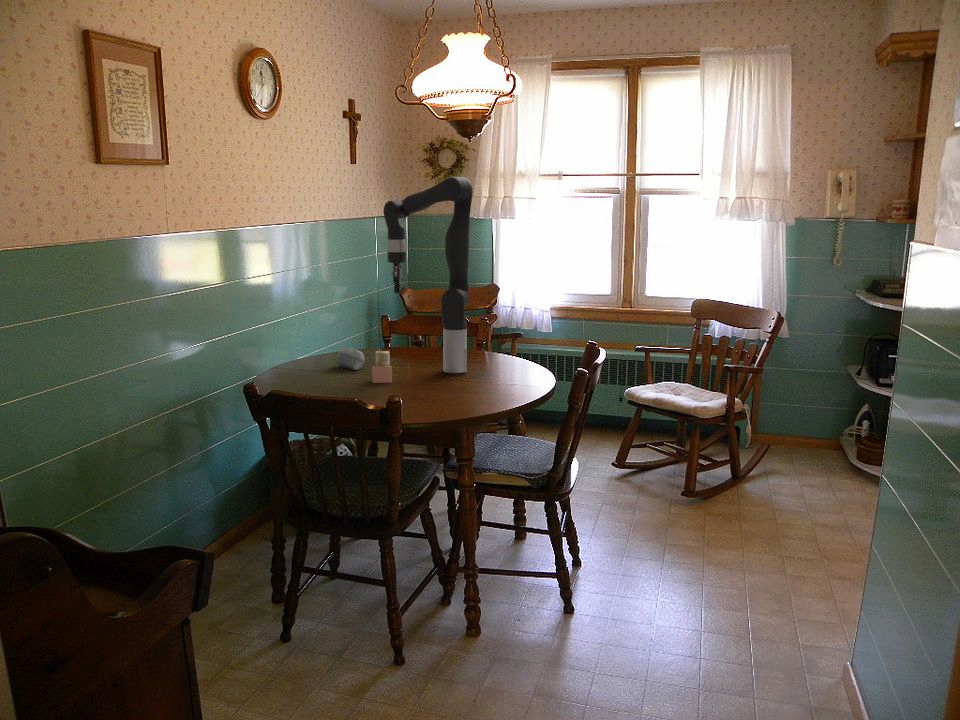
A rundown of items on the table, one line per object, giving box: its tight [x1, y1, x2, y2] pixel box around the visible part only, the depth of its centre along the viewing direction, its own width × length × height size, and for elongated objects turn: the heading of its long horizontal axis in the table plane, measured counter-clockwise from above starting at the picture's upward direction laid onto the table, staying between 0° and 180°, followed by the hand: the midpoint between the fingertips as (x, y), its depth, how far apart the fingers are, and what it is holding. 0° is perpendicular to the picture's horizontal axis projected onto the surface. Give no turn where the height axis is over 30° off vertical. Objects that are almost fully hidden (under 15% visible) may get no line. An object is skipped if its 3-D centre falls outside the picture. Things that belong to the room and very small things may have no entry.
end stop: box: [371, 365, 393, 384], centre depth 286 cm, size 7×2×6 cm, turn 91°
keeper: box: [375, 350, 391, 366], centre depth 289 cm, size 5×4×10 cm
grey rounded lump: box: [335, 347, 365, 371], centre depth 309 cm, size 14×10×10 cm
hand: (397, 292), depth 317 cm, fingers closed
